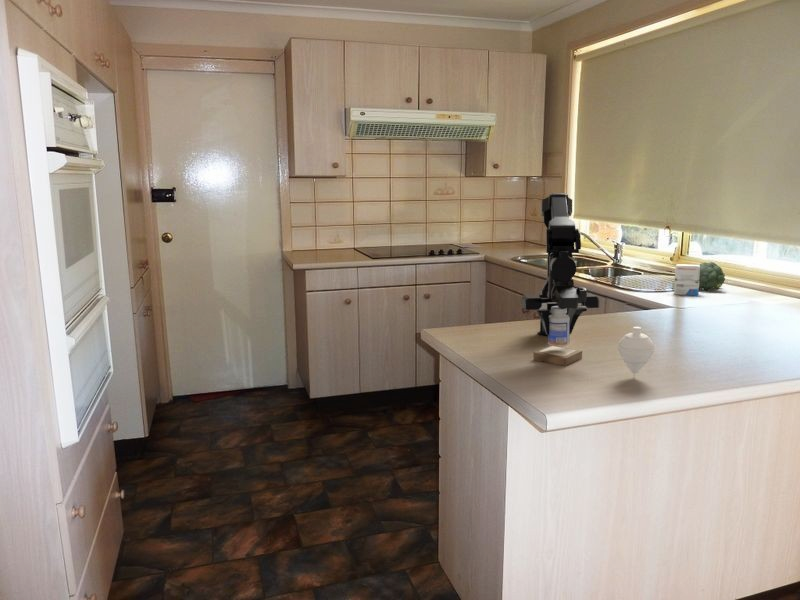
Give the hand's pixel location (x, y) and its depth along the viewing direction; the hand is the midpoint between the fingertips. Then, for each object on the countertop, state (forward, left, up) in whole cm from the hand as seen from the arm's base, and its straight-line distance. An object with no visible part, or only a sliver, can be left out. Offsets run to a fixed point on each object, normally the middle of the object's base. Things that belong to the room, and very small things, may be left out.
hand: (558, 334), depth 159 cm
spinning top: (+21, -3, -7) cm, 22 cm away
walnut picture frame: (0, 0, -7) cm, 7 cm away
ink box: (-4, +114, -7) cm, 114 cm away
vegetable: (0, +130, -7) cm, 130 cm away
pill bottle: (0, 0, -3) cm, 3 cm away
